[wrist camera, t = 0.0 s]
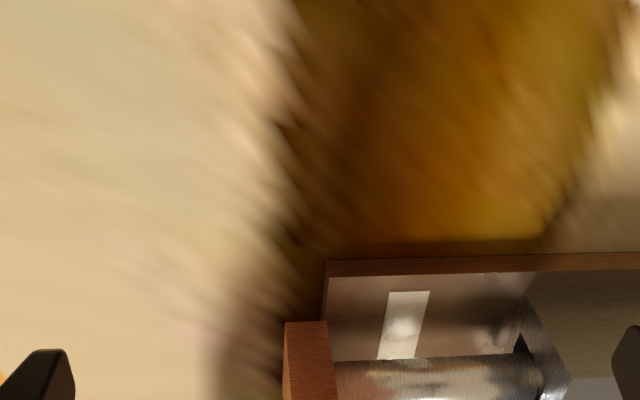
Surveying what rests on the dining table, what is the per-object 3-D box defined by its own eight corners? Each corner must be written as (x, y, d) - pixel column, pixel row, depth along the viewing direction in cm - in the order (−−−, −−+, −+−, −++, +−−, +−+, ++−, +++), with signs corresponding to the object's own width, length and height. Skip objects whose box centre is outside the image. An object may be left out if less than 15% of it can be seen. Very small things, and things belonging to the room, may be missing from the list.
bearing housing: (630, 371, 36) (694, 469, 31) (313, 388, 34) (327, 498, 29) (703, 250, 30) (797, 347, 25) (326, 260, 28) (345, 369, 23)
